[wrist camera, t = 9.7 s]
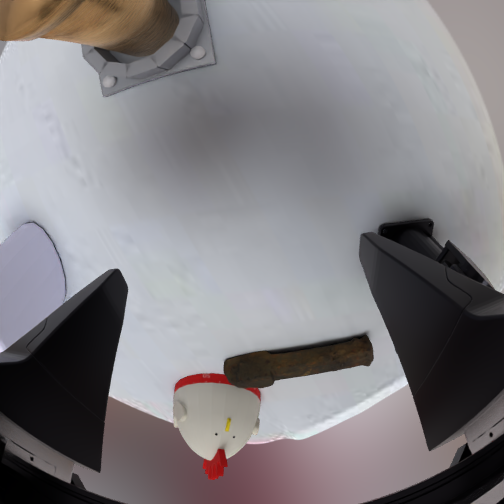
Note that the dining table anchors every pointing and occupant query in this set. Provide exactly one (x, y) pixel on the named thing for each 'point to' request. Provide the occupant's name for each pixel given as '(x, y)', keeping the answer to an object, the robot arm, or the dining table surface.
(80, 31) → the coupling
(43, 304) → the soap bottle
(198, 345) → the dining table surface
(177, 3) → the socket
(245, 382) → the hand tool
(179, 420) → the kitchen timer
